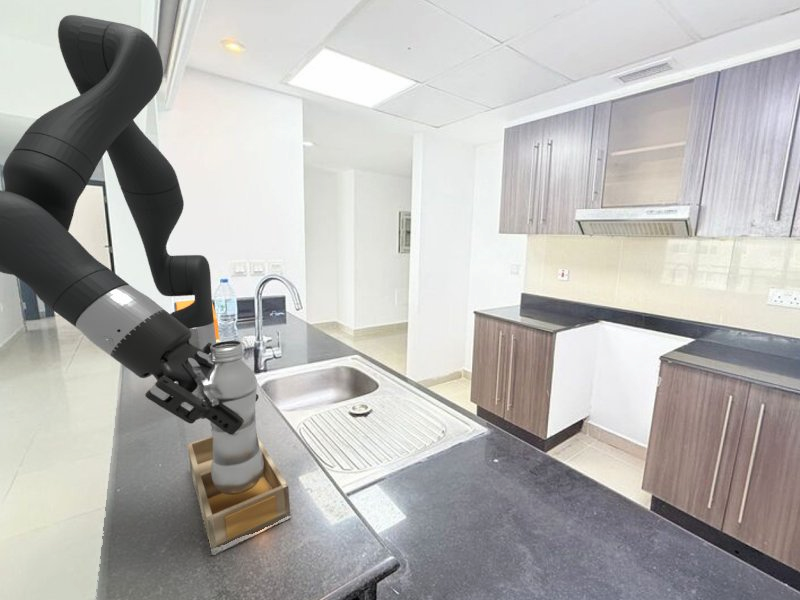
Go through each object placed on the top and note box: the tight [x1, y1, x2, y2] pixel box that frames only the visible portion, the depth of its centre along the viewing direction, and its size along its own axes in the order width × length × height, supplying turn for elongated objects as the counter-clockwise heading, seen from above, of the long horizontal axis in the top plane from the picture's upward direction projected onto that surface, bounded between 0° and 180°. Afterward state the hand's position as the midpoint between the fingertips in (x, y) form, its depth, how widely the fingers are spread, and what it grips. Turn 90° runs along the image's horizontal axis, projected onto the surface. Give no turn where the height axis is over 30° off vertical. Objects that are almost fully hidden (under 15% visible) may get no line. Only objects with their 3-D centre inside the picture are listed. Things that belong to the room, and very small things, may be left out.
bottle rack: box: [186, 435, 291, 549], centre depth 53 cm, size 20×10×5 cm, turn 37°
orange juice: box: [176, 299, 221, 343], centre depth 101 cm, size 8×9×20 cm
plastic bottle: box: [206, 339, 264, 495], centre depth 47 cm, size 6×7×20 cm
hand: (246, 414), depth 47 cm, fingers closed on plastic bottle, 6 cm apart
